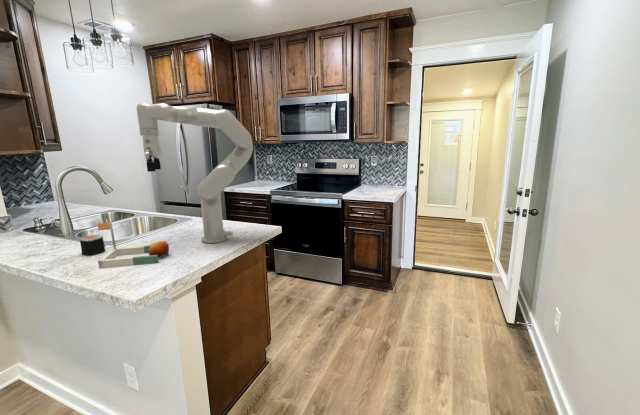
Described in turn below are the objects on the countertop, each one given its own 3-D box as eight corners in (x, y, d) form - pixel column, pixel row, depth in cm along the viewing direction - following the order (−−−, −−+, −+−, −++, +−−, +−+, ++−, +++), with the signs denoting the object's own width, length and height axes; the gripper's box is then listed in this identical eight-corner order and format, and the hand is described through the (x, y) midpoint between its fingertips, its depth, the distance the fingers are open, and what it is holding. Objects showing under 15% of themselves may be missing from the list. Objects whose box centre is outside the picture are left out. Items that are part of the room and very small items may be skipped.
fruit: (165, 257, 127) (154, 241, 126) (152, 265, 129) (141, 250, 129) (177, 251, 135) (167, 235, 134) (165, 258, 137) (155, 243, 136)
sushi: (89, 257, 133) (86, 239, 131) (79, 254, 136) (75, 237, 134) (108, 251, 140) (106, 234, 138) (98, 248, 143) (95, 232, 142)
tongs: (166, 250, 140) (162, 219, 136) (157, 262, 125) (152, 228, 122) (104, 255, 134) (98, 223, 131) (87, 269, 120) (80, 233, 116)
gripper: (153, 132, 129) (158, 171, 133) (163, 132, 146) (167, 168, 149) (134, 132, 127) (139, 172, 131) (145, 133, 144) (150, 168, 148)
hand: (154, 170), depth 140 cm, fingers open, 9 cm apart
